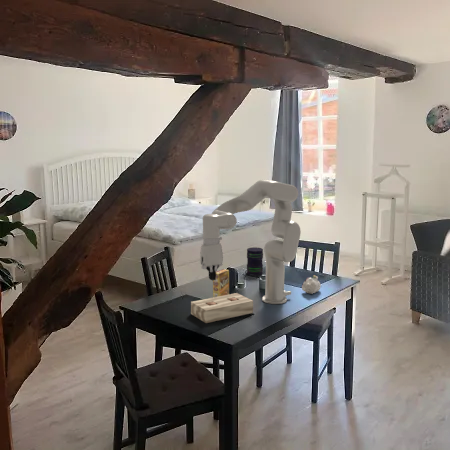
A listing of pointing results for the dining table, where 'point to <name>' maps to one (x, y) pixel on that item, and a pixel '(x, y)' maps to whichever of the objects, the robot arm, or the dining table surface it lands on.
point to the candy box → (221, 283)
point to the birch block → (221, 307)
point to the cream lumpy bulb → (311, 285)
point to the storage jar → (254, 261)
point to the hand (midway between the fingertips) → (212, 279)
